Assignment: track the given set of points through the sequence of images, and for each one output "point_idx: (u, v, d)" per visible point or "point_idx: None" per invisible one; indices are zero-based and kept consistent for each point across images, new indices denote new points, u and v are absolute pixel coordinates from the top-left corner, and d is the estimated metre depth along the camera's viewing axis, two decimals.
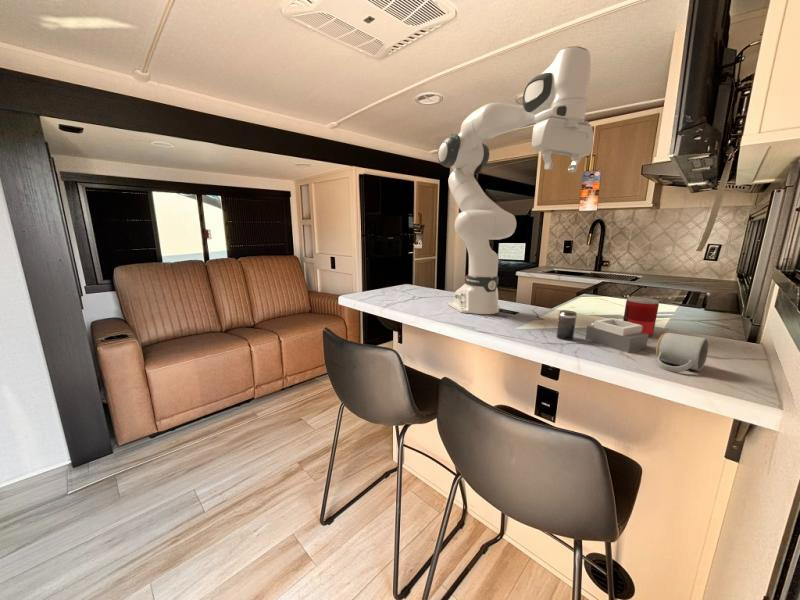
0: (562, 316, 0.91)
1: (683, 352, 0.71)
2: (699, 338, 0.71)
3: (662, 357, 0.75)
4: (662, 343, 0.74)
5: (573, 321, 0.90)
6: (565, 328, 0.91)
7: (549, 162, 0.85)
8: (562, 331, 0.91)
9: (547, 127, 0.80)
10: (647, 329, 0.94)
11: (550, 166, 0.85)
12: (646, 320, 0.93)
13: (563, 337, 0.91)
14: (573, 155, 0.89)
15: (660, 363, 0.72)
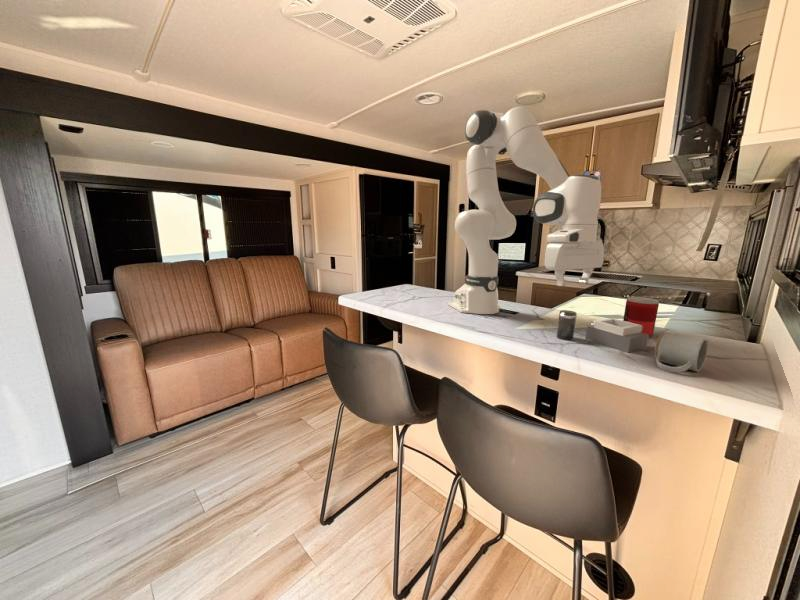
0: (562, 316, 0.91)
1: (682, 353, 0.70)
2: (698, 338, 0.70)
3: (661, 358, 0.74)
4: (661, 343, 0.74)
5: (573, 321, 0.90)
6: (565, 328, 0.91)
7: (562, 280, 0.86)
8: (562, 331, 0.91)
9: (560, 252, 0.82)
10: (647, 329, 0.94)
11: (563, 284, 0.86)
12: (646, 320, 0.93)
13: (563, 337, 0.91)
14: None
15: (659, 364, 0.72)
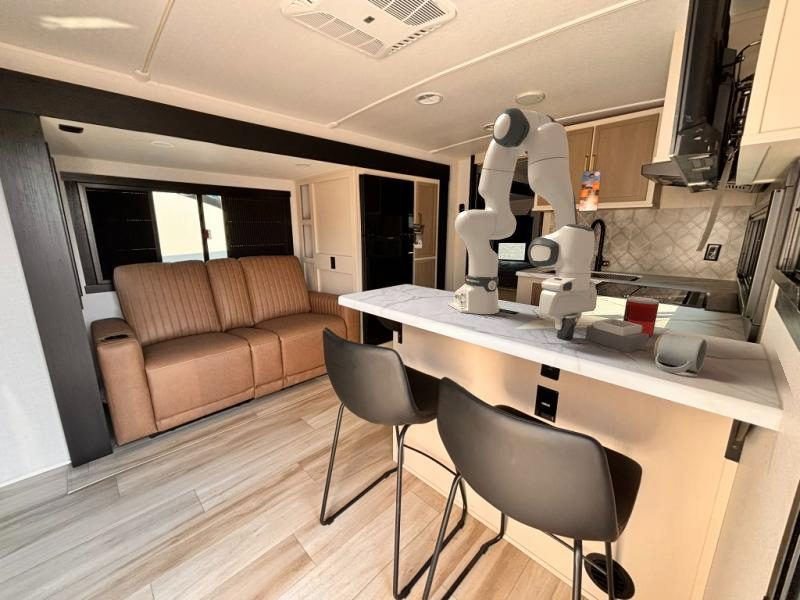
0: None
1: (681, 353, 0.70)
2: (697, 339, 0.70)
3: (660, 358, 0.74)
4: (660, 344, 0.74)
5: (573, 321, 0.90)
6: (565, 328, 0.91)
7: (560, 324, 0.90)
8: (562, 331, 0.91)
9: (554, 301, 0.85)
10: (647, 329, 0.94)
11: (561, 328, 0.90)
12: (646, 320, 0.93)
13: (563, 337, 0.91)
14: None
15: (658, 364, 0.72)
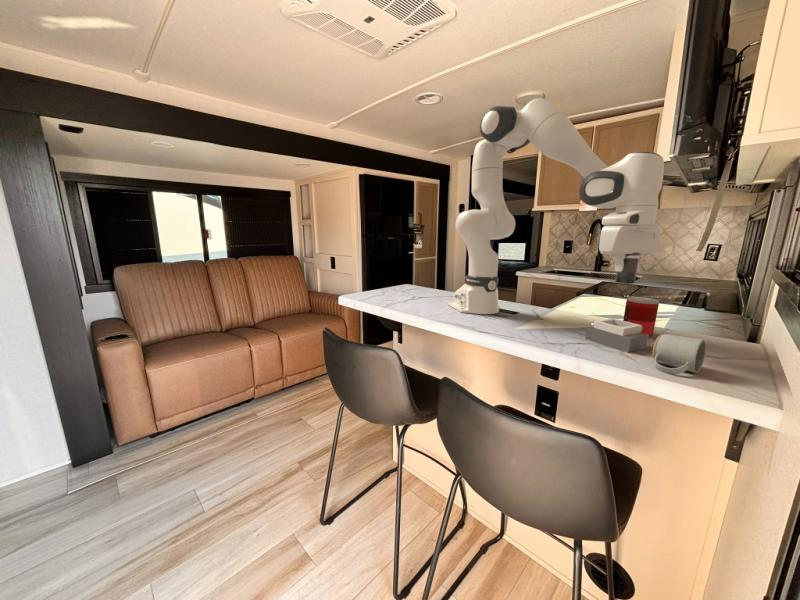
0: None
1: (680, 354, 0.70)
2: (696, 339, 0.70)
3: (659, 359, 0.74)
4: (659, 344, 0.73)
5: (636, 261, 0.82)
6: (627, 270, 0.82)
7: (621, 265, 0.82)
8: (624, 273, 0.83)
9: (619, 235, 0.77)
10: (647, 329, 0.94)
11: (622, 270, 0.82)
12: (646, 320, 0.93)
13: (624, 280, 0.83)
14: None
15: (657, 365, 0.72)
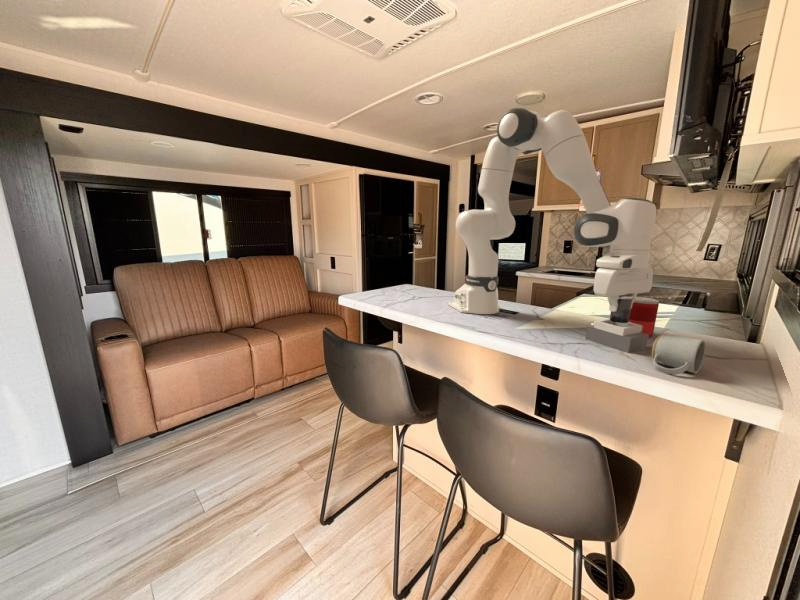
0: None
1: (679, 354, 0.70)
2: (695, 340, 0.69)
3: (658, 359, 0.73)
4: (658, 345, 0.73)
5: (630, 302, 0.84)
6: (621, 310, 0.85)
7: (615, 306, 0.84)
8: (618, 313, 0.85)
9: (613, 279, 0.79)
10: (647, 329, 0.94)
11: (616, 310, 0.84)
12: (646, 320, 0.93)
13: (618, 320, 0.85)
14: None
15: (656, 365, 0.71)
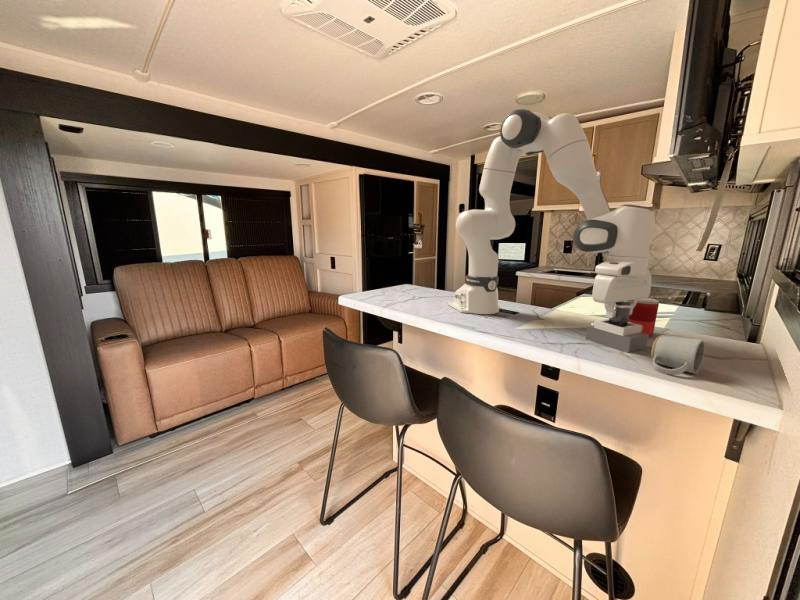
0: (616, 306, 0.85)
1: (679, 354, 0.69)
2: (695, 340, 0.69)
3: (657, 359, 0.73)
4: (658, 345, 0.73)
5: (628, 311, 0.85)
6: (619, 319, 0.85)
7: (612, 312, 0.84)
8: (616, 322, 0.86)
9: (611, 286, 0.79)
10: (647, 329, 0.94)
11: (613, 316, 0.85)
12: (646, 320, 0.93)
13: None
14: None
15: (655, 366, 0.71)
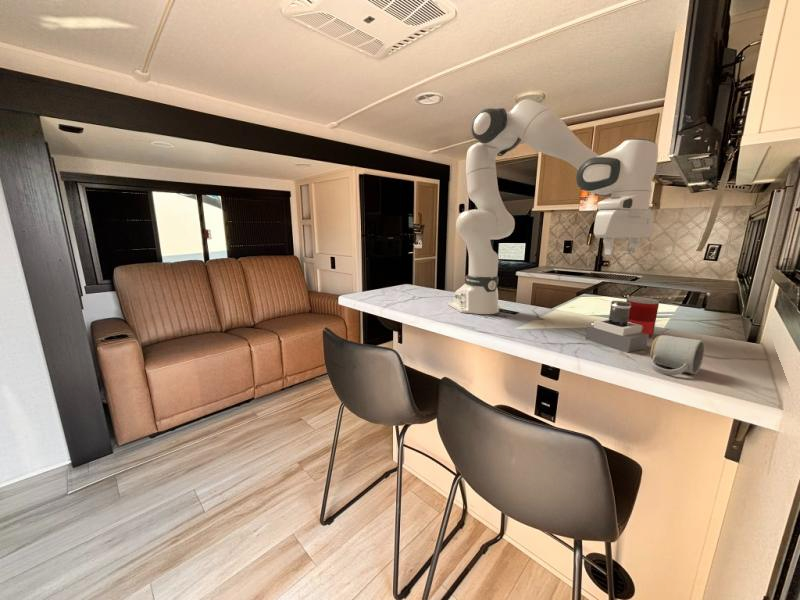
0: (616, 307, 0.85)
1: (678, 355, 0.69)
2: (694, 341, 0.69)
3: (657, 360, 0.73)
4: (657, 345, 0.73)
5: (627, 312, 0.85)
6: (618, 319, 0.85)
7: (610, 249, 0.85)
8: (615, 323, 0.86)
9: (613, 219, 0.80)
10: (647, 329, 0.94)
11: (611, 253, 0.85)
12: (646, 320, 0.93)
13: None
14: (631, 238, 0.90)
15: (654, 366, 0.71)
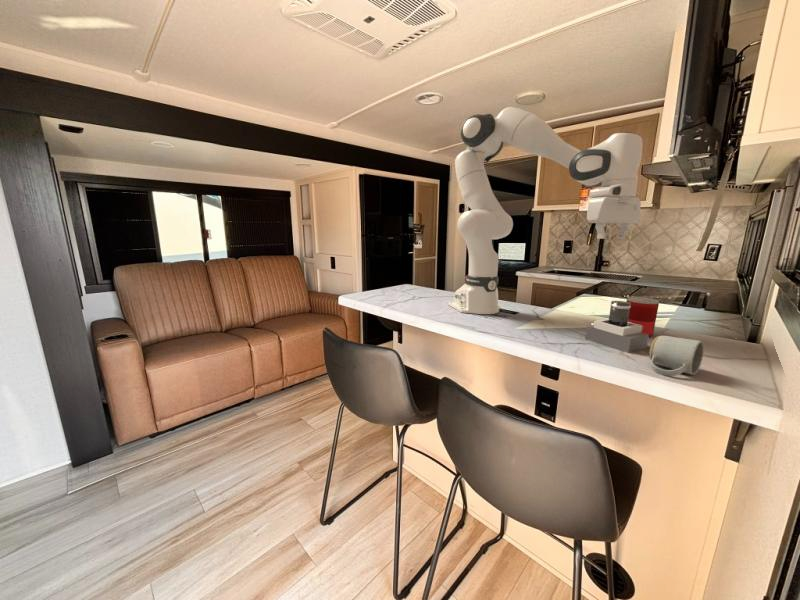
0: (615, 307, 0.85)
1: (677, 355, 0.69)
2: (693, 341, 0.69)
3: (656, 360, 0.73)
4: (656, 346, 0.72)
5: (627, 312, 0.85)
6: (618, 319, 0.85)
7: (602, 233, 0.93)
8: (615, 323, 0.86)
9: (604, 205, 0.88)
10: (647, 329, 0.94)
11: (603, 237, 0.93)
12: (646, 320, 0.93)
13: None
14: (621, 224, 0.98)
15: (653, 366, 0.71)
